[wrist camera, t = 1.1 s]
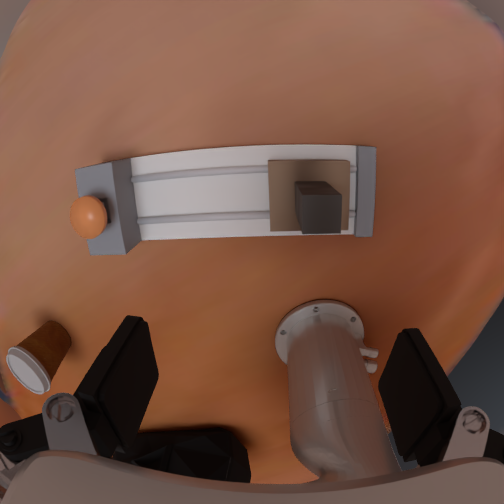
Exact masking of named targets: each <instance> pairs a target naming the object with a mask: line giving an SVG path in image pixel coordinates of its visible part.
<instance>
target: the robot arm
mask: <svg viewBox="0 0 504 504" xmlns="http://www.w3.org/2000/svg"><path fill="white" fill-rule="evenodd" d="M363 338H364V327H363V323H362V321H361V319H360V317H359V315H358V314H357V312H356V311H355V310H354V309H352V308H351V307H350V306H348V305H346V304H344V303H342V302H338V301H335V300H316V301H312V302H308V303H305V304H303V305H300V306H298V307H297V308H295V309H293V310H292V311H291V312H289V313H288V314H287V315H286V316H285V317H284V318H283V319H282V321H281V322H280V324H279V326H278V328H277V330H276V334H275V347H276V351H277V354H278V356H279V357H280V358H281V360H282V361H283V362H284V363H285V364H286V365H287V367H288V389H289V415H290V441H291V446H292V450H293V452H294V454H295V456H296V458H297V459H298V460H299V461H300V462H301V463H302V464H303V465H304V466H305V467H306V468H307V469H308V470H310V471H311V472H312V473H314V474H315V475H317V476H318V477H319V479H317V480H315V481H311V482H307V483H302V484H254V483H238V482H226V481H217V480H208V479H201V478H194V477H188V476H182V475H177V474H171V473H166V472H162V471H157V470H152V469H148V468H143V467H139V466H135V465H131V464H127V463H124V462H120V461H117V460H113V458H112V456H113V455H114V452H115V451H118V452H122V453H125V454H126V451H127V448H128V447H130V448H131V447H132V446H133V443H134V441H135V438H136V435H137V433H138V430H139V427H140V425H141V422H142V419H143V417H144V414H145V412H146V409H147V406H148V404H149V401H150V399H151V396H152V394H153V391H154V389H155V386H156V383H157V381H158V376H159V373H158V368H157V364H156V360H155V355H154V351H153V346H152V342H151V337H150V332H149V327H148V323H147V322H146V321H144V320H143V318H142V317H137V316H130V315H128V316H126V317H125V319H124V320H123V322H122V323H121V325H120V326H119V328H118V329H117V331H116V332H115V333H114V335H113V336H112V338H111V340H110V341H109V343H108V344H107V346H105V347H104V348H103V349H102V350H101V352H100V353H99V355H98V356H97V358H96V359H95V361H94V363H93V364H92V366H91V367H90V369H89V370H88V372H87V374H86V375H85V377H84V378H83V380H82V382H81V383H80V385H79V386H78V388H77V390H76V391H75V393H74V395H71V394H69V393H57V394H55V395H52V396H51V397H49V398H48V399H47V400H46V401H45V403H44V405H43V408H42V413H40V414H37V415H34V416H31V417H28V418H25V419H21V420H18V421H15V422H11V423H8V424H6V425H3V426H2V427H1V428H0V504H504V435H502V434H500V433H498V432H496V431H494V430H492V429H489V428H490V422H489V418H488V416H487V415H486V414H485V412H484V411H483V410H481V409H479V408H477V407H473V406H472V407H466V408H464V409H463V410H462V408H461V406H460V405H461V402H460V400H459V398H458V396H457V394H456V392H455V391H454V389H453V387H452V385H451V383H450V381H449V380H448V378H447V376H446V374H445V372H444V371H443V369H442V367H441V365H440V364H439V362H438V360H437V358H436V357H435V355H434V353H433V352H432V350H431V348H430V347H429V345H428V343H427V342H426V340H425V338H424V337H423V335H422V333H421V332H420V330H419V329H418V328H409V329H403V330H402V332H401V333H399V334H398V336H397V338H396V341H395V343H394V346H393V349H392V351H391V354H390V356H389V359H388V361H387V364H386V366H385V368H384V371H383V373H382V375H381V378H380V380H379V384H378V388H379V392H380V395H381V398H382V401H383V404H384V407H385V410H386V413H387V416H388V420H389V423H390V426H391V429H392V432H393V436H394V439H395V443H396V446H397V449H398V453H399V455H400V456H403V459H404V462H408V461H412V460H416V459H417V462H418V465H417V467H416V468H415V469H411V470H406V471H402V470H401V468H400V466H399V464H398V462H397V459H396V457H395V454H394V452H393V449H392V446H391V444H390V441H389V437H388V434H387V431H386V428H385V425H384V421H383V418H382V415H381V412H380V409H379V406H378V402H377V399H376V396H375V393H374V390H373V387H372V384H371V381H370V378H369V375H368V373H374V372H375V371H376V369H377V362H376V361H373V360H368V359H363V357H362V356H367V357H371V358H376V357H377V356H378V349H375V348H371V347H370V348H368V347H366V346H365V345H364V343H363Z"/></svg>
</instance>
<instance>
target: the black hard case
mask: <svg viewBox="0 0 504 504" xmlns="http://www.w3.org/2000/svg"><path fill="white" fill-rule="evenodd" d="M112 458H113V460H117V461H120V462H124V463H127V464H131V465H135V466H139V467H143V468H148V469H152V470H157V471H162V472H166V473H171V474H177V475H182V476H188V477H194V478H201V479H208V480H217V481H226V482H238V483H250V480H251V471H250V465H249V459H248V453H247V449H246V448H245V447H244V446H243V445H242V444H241V443H240V442H239V441H238V440H237V439H236V438H235V436H234V435H233V434H232V433H231V432H229V431H227V430H224V429H222V428H213V429H200V430H183V431H166V432H147V433H138V434H137V435H136V438H135V441H134V443H133V446H132V447H131V448H130V447H128V448H127V451H126V454H125V453H122V452H118V451H115V452H114V455H113V457H112Z"/></svg>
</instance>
